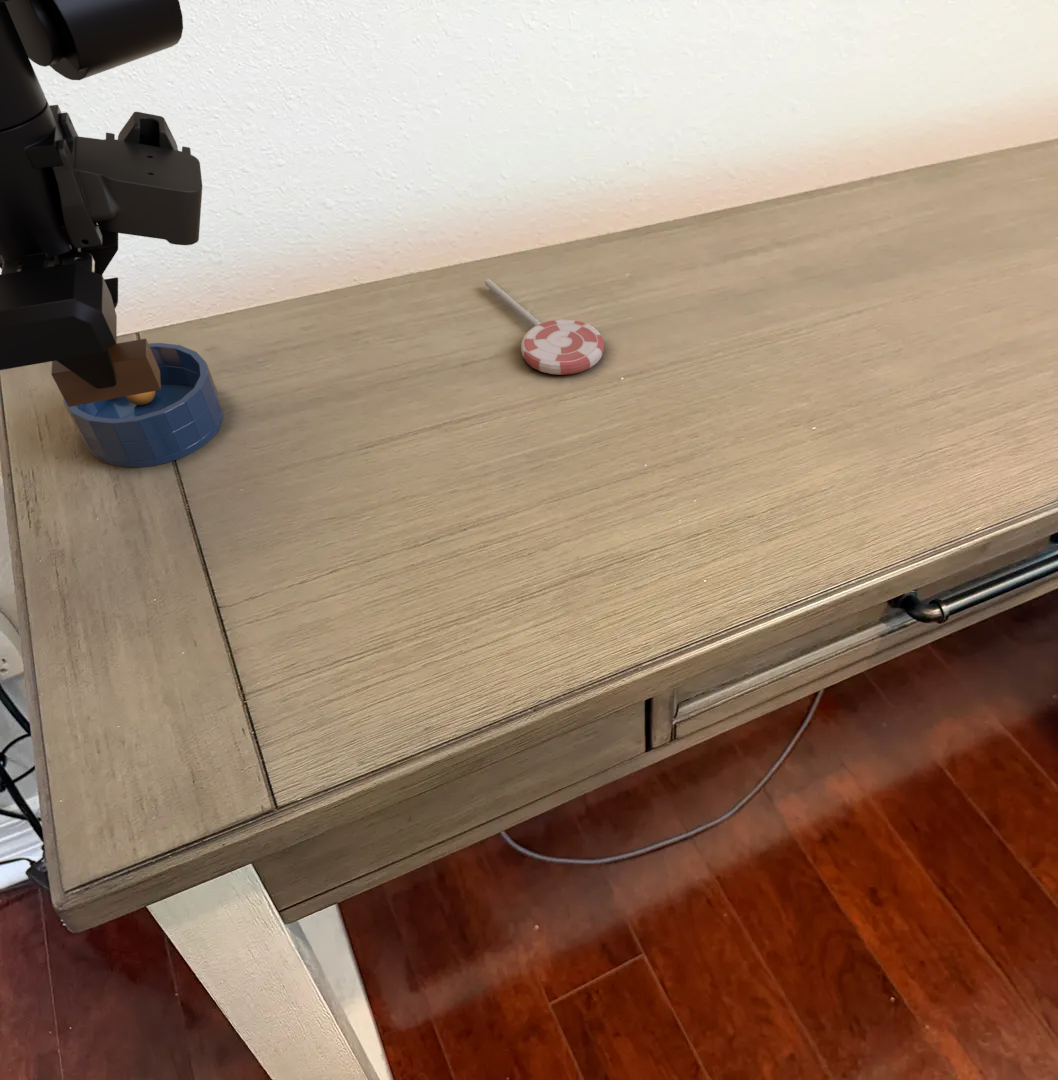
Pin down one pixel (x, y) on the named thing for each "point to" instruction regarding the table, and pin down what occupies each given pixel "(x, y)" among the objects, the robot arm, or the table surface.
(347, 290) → the table surface
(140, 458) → the bowl
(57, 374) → the tall brown square pillar
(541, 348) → the lollipop
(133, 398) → the dough ball
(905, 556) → the table surface
